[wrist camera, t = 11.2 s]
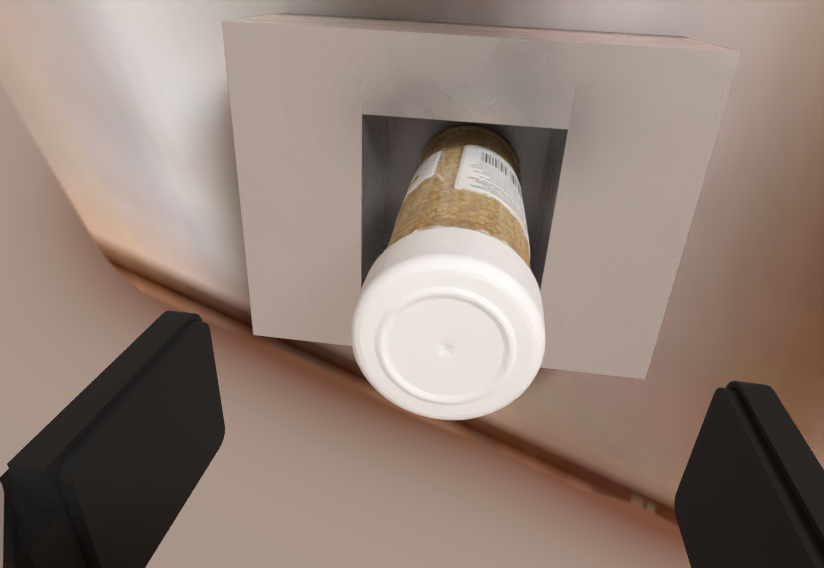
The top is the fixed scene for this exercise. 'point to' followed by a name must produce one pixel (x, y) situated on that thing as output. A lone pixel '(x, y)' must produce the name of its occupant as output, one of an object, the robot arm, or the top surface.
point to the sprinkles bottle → (454, 286)
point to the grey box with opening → (491, 109)
